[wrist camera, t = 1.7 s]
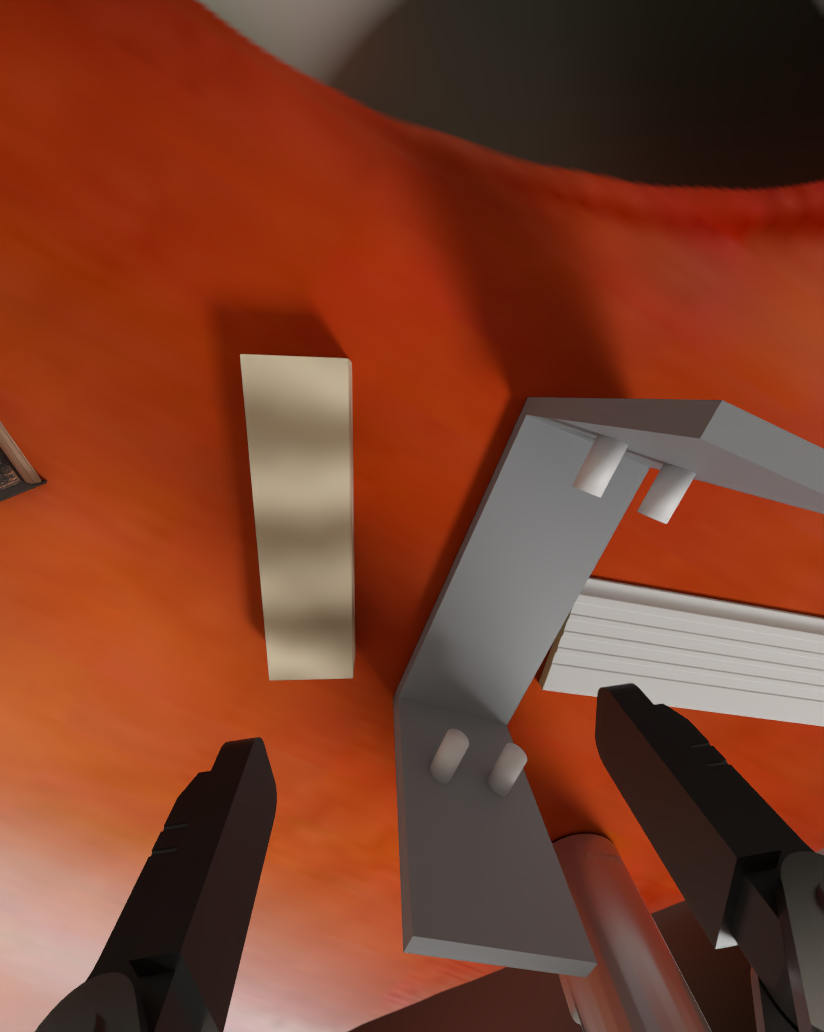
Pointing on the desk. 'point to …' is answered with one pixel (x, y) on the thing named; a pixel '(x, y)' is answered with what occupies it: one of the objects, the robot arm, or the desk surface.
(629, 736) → the robot arm
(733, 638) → the baseboard
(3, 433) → the hardcover book
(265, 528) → the shelf board
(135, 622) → the desk surface
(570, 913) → the shelf frame
